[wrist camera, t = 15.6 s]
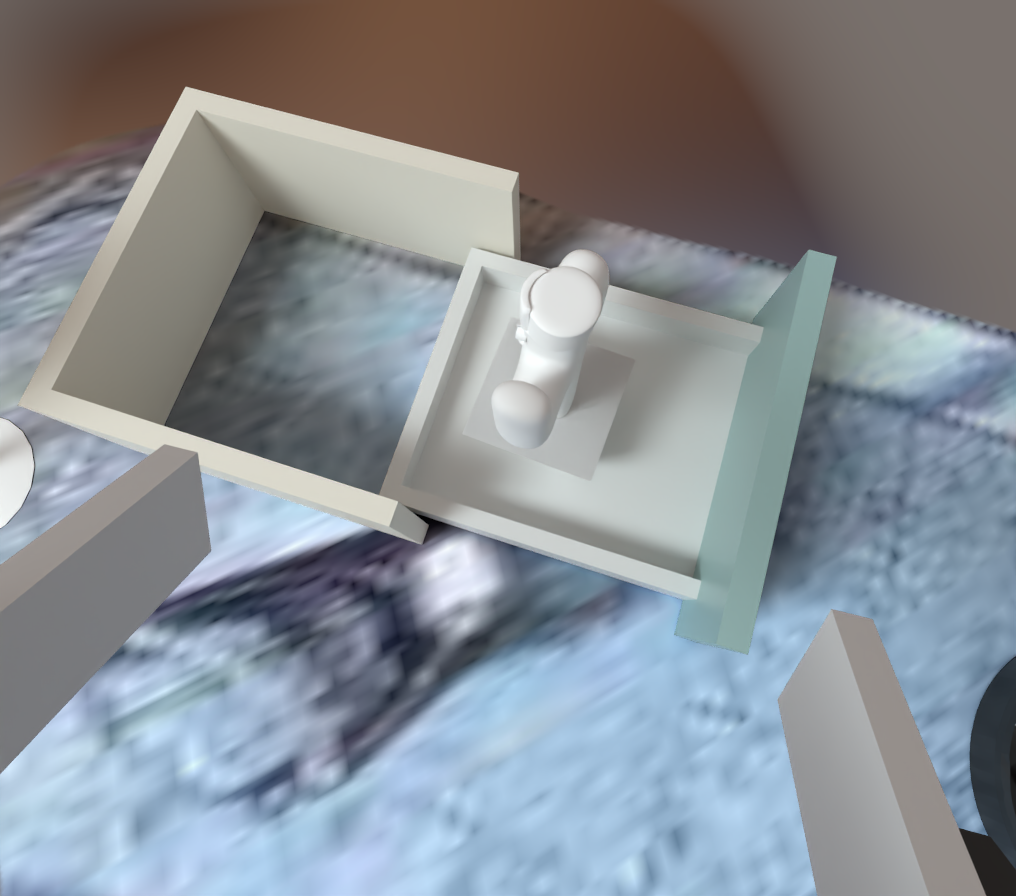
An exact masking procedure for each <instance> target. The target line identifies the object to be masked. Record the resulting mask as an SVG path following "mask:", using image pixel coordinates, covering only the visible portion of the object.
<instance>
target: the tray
mask: <svg viewBox="0 0 1016 896" xmlns="http://www.w3.org/2000/svg"><path fill="white" fill-rule="evenodd" d="M836 258H837V257H835V256H831V255H828V254H824V253H820V252H816V251H812V250H808V251H807V253H806V254H805V255H804V256H803V258H802V259H801V260H800V261H799V263H798V264H797V265H796V266H795V268H794V269H793V270H792V271H791V273H790V274H789V275H788V276H787V278H786V279H785V280H784V282H783V283H782V284H781V285H780V287H779V288H778V289H777V290H776V292H775V293H774V294H773V295H772V297H771V298H770V299H769V300H768V302H767V303H766V304H765V305H764V307H763V308H762V309H761V310H760V312H759V313H758V314H757V315H756V317H755V318H754V319H753V322H752V324H750V323H747V322H743V321H739V320H736V319H732V318H728V317H725V316H721V315H717V314H714V313H710V312H706V311H703V310H699V309H695V308H692V307H688V306H684V305H681V304H677V303H673V302H670V301H666V300H662V299H659V298H655V297H651V296H648V295H644V294H640V293H637V292H633V291H629V290H626V289H622V288H618V287H615V286H611V285H609V287H608V291H607V294H606V298H605V301H604V305H603V308H602V312H601V315H600V316H599V318H598V320H597V322H596V324H595V326H594V328H593V330H592V332H591V334H590V336H589V339H588V343H589V344H591V345H594V346H597V347H600V348H603V349H606V350H609V351H612V352H615V353H617V354H620V355H623V356H626V357H629V358H632V359H635V362H634V365H633V368H632V370H631V373H630V376H629V378H628V381H627V384H626V387H625V389H624V392H623V395H622V398H621V400H620V403H619V406H618V409H617V411H616V414H615V417H614V419H613V422H612V425H611V428H610V430H609V433H608V436H607V439H606V441H605V444H604V447H603V450H602V452H601V455H600V458H599V461H598V463H597V466H596V469H595V471H594V474H593V477H592V480H591V482H590V481H587V480H584V479H581V478H579V477H576V476H573V475H571V474H568V473H565V472H563V471H560V470H557V469H555V468H552V467H549V466H547V465H544V464H541V463H539V462H536V461H533V460H531V459H528V458H525V457H522V456H520V455H517V454H514V453H512V452H509V451H506V450H504V449H501V448H498V447H496V446H493V445H490V444H488V443H485V442H482V441H480V440H477V439H474V438H471V437H469V436H466V435H463V434H462V433H463V430H464V428H465V426H466V423H467V421H468V419H469V416H470V414H471V411H472V409H473V407H474V404H475V402H476V400H477V397H478V395H479V392H480V390H481V388H482V385H483V383H484V381H485V378H486V376H487V373H488V371H489V369H490V366H491V364H492V362H493V359H494V357H495V354H496V352H497V350H498V347H499V345H500V343H501V340H502V338H503V335H504V333H505V331H506V328H507V326H508V324H509V321H510V319H511V317H513V318H516V319H519V320H520V294H521V289H522V286H523V284H524V282H525V281H526V279H527V278H528V277H529V276H530V275H531V274H532V273H533V272H535V271H536V270H538V269H540V268H545V267H542V266H538V265H534V264H531V263H527V262H523V261H520V260H516V259H512V258H509V257H505V256H501V255H498V254H494V253H490V252H487V251H483V250H479V249H476V248H472V247H471V250H470V253H469V255H468V258H467V261H466V263H465V266H464V269H463V271H462V274H461V277H460V279H459V282H458V285H457V287H456V290H455V293H454V295H453V298H452V301H451V303H450V306H449V309H448V311H447V314H446V317H445V319H444V322H443V325H442V327H441V330H440V333H439V335H438V338H437V341H436V343H435V346H434V349H433V351H432V354H431V357H430V359H429V362H428V365H427V367H426V370H425V373H424V375H423V378H422V381H421V383H420V386H419V389H418V391H417V394H416V397H415V399H414V402H413V405H412V407H411V410H410V413H409V415H408V418H407V421H406V423H405V426H404V429H403V431H402V434H401V437H400V439H399V442H398V445H397V447H396V450H395V453H394V455H393V458H392V461H391V463H390V466H389V469H388V471H387V474H386V477H385V479H384V482H383V485H382V487H381V490H380V493H379V495H380V496H383V497H386V498H389V499H392V500H395V501H398V502H400V503H401V504H402V505H404V506H405V507H406V508H407V509H409V510H410V511H411V512H413V513H416V514H419V515H422V516H425V517H428V518H431V519H434V520H437V521H441V522H444V523H447V524H450V525H453V526H456V527H459V528H462V529H465V530H468V531H472V532H475V533H478V534H481V535H484V536H487V537H490V538H493V539H496V540H499V541H502V542H506V543H509V544H512V545H515V546H518V547H521V548H524V549H527V550H530V551H533V552H536V553H540V554H543V555H546V556H549V557H552V558H555V559H558V560H561V561H564V562H567V563H571V564H574V565H577V566H580V567H583V568H586V569H589V570H592V571H595V572H598V573H601V574H605V575H608V576H611V577H614V578H617V579H620V580H623V581H626V582H629V583H632V584H636V585H639V586H642V587H645V588H648V589H651V590H654V591H657V592H660V593H663V594H666V595H670V596H673V597H676V598H679V599H682V600H683V601H682V605H681V609H680V613H679V617H678V621H677V625H676V629H675V633H674V635H676V636H679V637H682V638H685V639H688V640H691V641H694V642H697V643H701V644H705V645H709V646H713V647H718V648H722V649H726V650H730V651H734V652H739V653H743V654H747V655H748V652H749V648H750V643H751V639H752V635H753V630H754V626H755V621H756V617H757V612H758V608H759V603H760V599H761V594H762V590H763V585H764V581H765V576H766V572H767V567H768V563H769V558H770V554H771V549H772V545H773V540H774V536H775V531H776V527H777V522H778V518H779V513H780V509H781V505H782V500H783V496H784V491H785V487H786V482H787V478H788V473H789V469H790V464H791V460H792V455H793V451H794V446H795V442H796V437H797V433H798V428H799V424H800V419H801V415H802V410H803V406H804V401H805V397H806V392H807V388H808V383H809V379H810V375H811V370H812V366H813V361H814V357H815V352H816V348H817V343H818V339H819V334H820V330H821V325H822V321H823V316H824V312H825V307H826V303H827V298H828V294H829V289H830V285H831V280H832V276H833V271H834V267H835V262H836ZM545 269H547V270H550V269H549V268H545Z"/></svg>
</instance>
